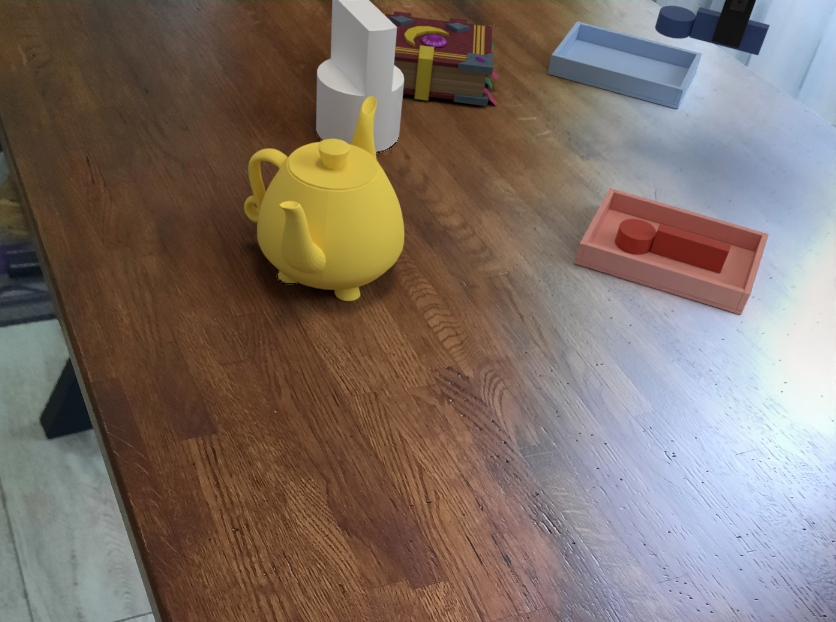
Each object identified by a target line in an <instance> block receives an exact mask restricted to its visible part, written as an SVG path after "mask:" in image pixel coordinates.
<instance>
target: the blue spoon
mask: <svg viewBox="0 0 836 622" xmlns="http://www.w3.org/2000/svg"><path fill="white" fill-rule="evenodd" d="M720 14H721V11H716V10H713V9H709V8H705V7H701V6H699V8H698V10H697V11H696V13H694V11H692V10H690V9H688V8H686V7H682V6H678V5H665V6H662V7H661V8H660V10H659V11H658V16H657V19H656V22H655V26H654V30H655V31H656V32H657V33H658V34H660V35H662V36H663V37H666V38H671V39H677V40H681V39H687V38H690V39H694V40H698V41H701V42H704V43H705V42H706V43H709V44H711V45H712V44H713V45H716V46H721V47H725V48H727V49H733V50H735V51H740V52H743V53H746V54H747V53H748V54H751V55H753V56H754V55H755V56H759V55H760V52H761V50H762V47H763V44H764V41H765V39H766V37H767V34H768V31H769V29H770V26H771V25H770V24H767V23H764V22H760V21H757V20H753V19H749V21H748V23H747V26H746V29H745V32H744V34H743V37H742V40H741V43H740V46H739V48H735V47H732V46H728V45H724V44H720V43H716V42H712V38H713V35H714V32H715V29H716V26H717V23H718V20H719V17H720Z"/></svg>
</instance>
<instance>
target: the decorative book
mask: <svg viewBox="0 0 836 622" xmlns="http://www.w3.org/2000/svg"><path fill="white" fill-rule="evenodd" d="M383 14H384V15H385V16H386V17H387V18H388V19H389V20H390V21H391V22H392V23H393V24H394V25H395V26H396V27H397V33H396V46H395V58H394V65H395V66H396V67H397V68H399V69H400V71H401V72H402V73H403V76H404V87H403V95H412V96H414V100H421V101H429V98H435V99H446V100H453V103H459V104H460V103H461V104H469V105H476V106H484V107H488V102H489V100H490V102H492V104H493V105H495V106H497V100H496V99H495V97H493V96H492V94H491V92H490V91H489V87H490V89H491V90H493V83H492V82H491V80H490V78H489V77H488V75H492V77H493V78H494V80H496V81H497V82H498V81H499V75H498V74H497V73H496V72H495V71H494V52H495V46H494V42H493V26H488V25H479V24H471V23H468V19H462V18H461V19H460V18H453V17H449V21H446V20H440V19H439V20H438V19H430V18H422V17H413V16H412V12H405V11H396V10H394V11H393V14H388V13H383ZM493 51H494V52H493Z"/></svg>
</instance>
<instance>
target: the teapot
mask: <svg viewBox="0 0 836 622" xmlns="http://www.w3.org/2000/svg"><path fill="white" fill-rule="evenodd" d="M376 106H377V100H376V98H375V97H374V96H370V97H368V98H366V100H365V101H364V102H363V104H362V106H361V109H360V112H359V116H358V120H357V124H356V128H355V132H354V135H353V138H352V142H351V145H350V144H348V143H347V142H345V141H343V140H339V139H325V140H322V141H321V140H320V141H317V142H311V143H308V144H305V145H304V144H303V145H301V146H300V147H298V148H296V149H295V150H293V152H291V153H290V154H289V155H287V154H285V153H283V151H280V150H278V149H275V148H263V149H260V150H257V151H256V152H255V153H254V154H253V155H252V156H251V157H250V158H249V159H250V160H249V162H248V166H247V174H248V180H249V185H250V188H251V192H252V195H249V196H248V197H247V198H246V199H245V201H244V205H243V210H244V214H245V216H246V217H247V218H248V219H249V220H250V221H252V222H254V223H257V224H256V238H257V242H258V246H259V248H260V250H261V252H262V254H263V255H264V257H265V258H266V259H267V260H268V261H269V263H270V264H272V266H274V267H275V268H276V269H277V270H278V272H279V273H278V272H277V274H278V276H279V278H280V279H282V280H283V281H286V282H287V283H296V284H298V283H299V284H301V285H303V286H307V287H311V288H313V289H314V288H315V289H320V290H328V291H329V290H330V291H334V295H335V297H336V298H337V299H339V300H341V301H345V302H352V301H356V300H358V299H359V298H360V297H361V291H360V287H363V286H365V285H368V284H370V283H372V282H374V281H375V280H377V279H378V278H380V277H381V276H382V275H384V274H385V273H387V271H388V270H389V269H391V268H392V267H393V266H394V265H395V264H396V262H397V261H398V260H399V258H400V256H401V254H402V252H403V250H404V245H405V223H404V217H403V212H402V208H401V205H400V202H399V199H398V197H397V194H396V191H395V189H394V186H393V185H392V183H391V182H390V180H389V177H388V176H387V174H386V172H385V170H384V169H383V167H382V166H381V164H380V163H379V161H378V159H377V153H376V152H375V143H374V117H375V112H376ZM262 162H267V163H268V162H269V163H271V164H272V165H274V166H276V167H277V168H278V170H277V172H276V173H275V175H274V176H273V178H272V179H271V181H270V183H269V185H268V187H267V188H265V187H266V186H265V184H264V180H263V176H262V170H261V163H262ZM297 282H298V283H297Z"/></svg>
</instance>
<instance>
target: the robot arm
mask: <svg viewBox="0 0 836 622" xmlns="http://www.w3.org/2000/svg"><path fill="white" fill-rule="evenodd" d="M756 2H757V0H724V2H723V6H722V8H721V11H720V12H721V14H720V17H719V20H718V23H717V26H716V29H715V32H714V35H713V38H712V42H716V43H720V44H724V45H728V46H732V47H735V48H739V46H740V43H741V40H742V37H743V34H744V32H745V29H746V26H747V23H748V21H749V20H751V16H752V13H753V11H754V8H755V5H756Z"/></svg>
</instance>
